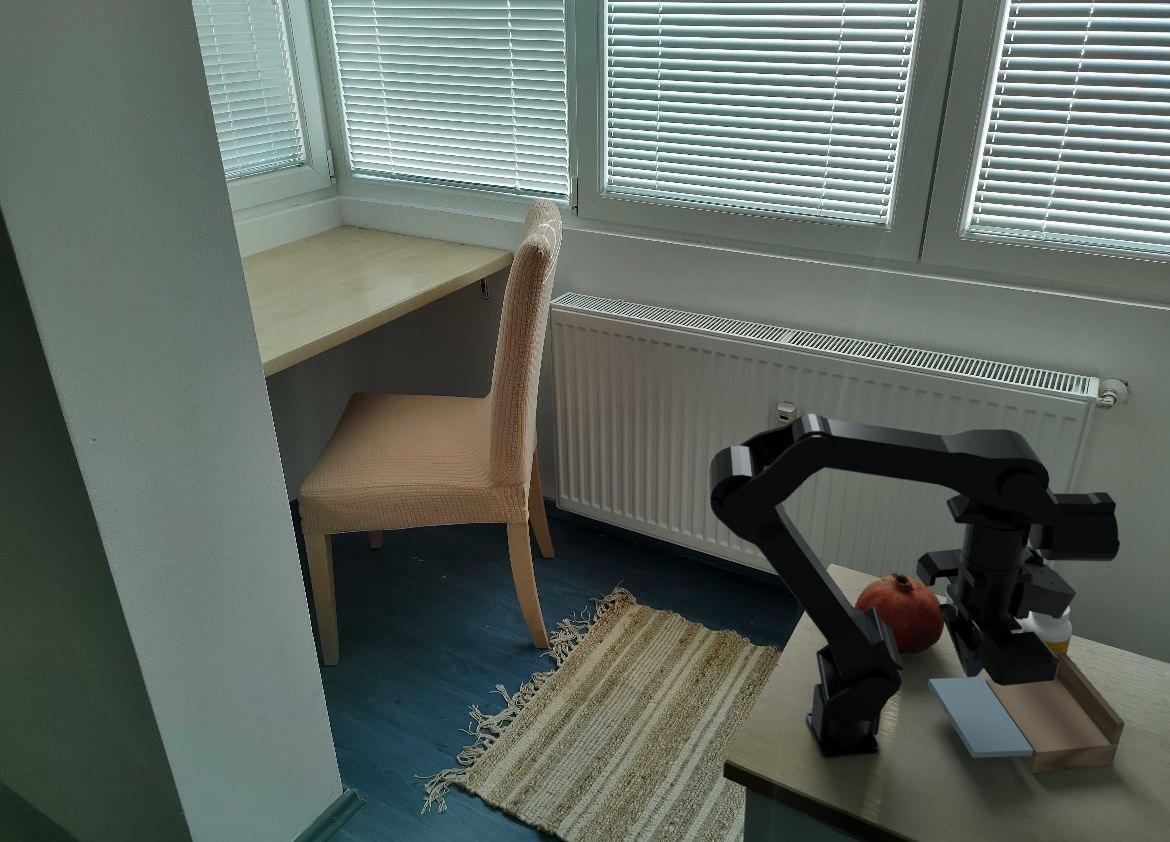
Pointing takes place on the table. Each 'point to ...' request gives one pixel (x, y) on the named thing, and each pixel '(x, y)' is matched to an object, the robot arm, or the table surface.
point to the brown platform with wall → (1062, 720)
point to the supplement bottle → (1050, 630)
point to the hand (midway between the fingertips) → (970, 674)
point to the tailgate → (979, 718)
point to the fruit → (905, 611)
